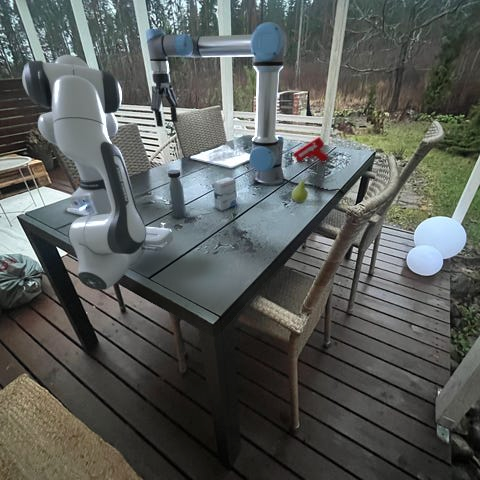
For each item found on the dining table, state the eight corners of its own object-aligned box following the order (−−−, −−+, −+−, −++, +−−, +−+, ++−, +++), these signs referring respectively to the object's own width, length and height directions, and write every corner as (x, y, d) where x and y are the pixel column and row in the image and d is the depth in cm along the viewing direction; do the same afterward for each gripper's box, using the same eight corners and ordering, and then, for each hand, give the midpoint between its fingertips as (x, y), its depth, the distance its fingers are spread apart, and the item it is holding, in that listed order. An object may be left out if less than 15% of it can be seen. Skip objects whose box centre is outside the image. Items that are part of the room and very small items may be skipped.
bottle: (183, 218, 109) (177, 175, 99) (172, 217, 110) (165, 174, 100) (188, 213, 113) (182, 170, 103) (176, 212, 114) (170, 170, 104)
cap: (177, 178, 100) (177, 173, 99) (166, 177, 101) (165, 173, 100) (182, 174, 104) (181, 170, 103) (171, 173, 105) (170, 169, 104)
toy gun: (332, 156, 168) (319, 135, 164) (331, 158, 165) (319, 137, 161) (306, 172, 178) (294, 152, 174) (305, 174, 175) (293, 154, 171)
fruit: (288, 200, 123) (290, 174, 116) (302, 197, 125) (305, 172, 119) (296, 206, 118) (299, 179, 111) (310, 203, 120) (314, 177, 114)
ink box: (228, 201, 122) (228, 176, 116) (236, 204, 119) (236, 179, 113) (214, 207, 117) (212, 181, 111) (222, 211, 114) (220, 184, 108)
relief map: (232, 168, 162) (231, 159, 159) (190, 158, 179) (189, 150, 177) (257, 157, 180) (257, 149, 177) (217, 149, 198) (217, 142, 195)
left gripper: (159, 241, 74) (179, 217, 85) (93, 233, 78) (121, 212, 89) (163, 259, 77) (182, 235, 89) (100, 251, 81) (125, 229, 93)
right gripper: (167, 72, 132) (173, 119, 143) (136, 73, 112) (146, 128, 123) (181, 72, 130) (186, 120, 141) (151, 73, 110) (160, 129, 121)
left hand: (151, 223), depth 89 cm, fingers open, 8 cm apart
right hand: (167, 124), depth 132 cm, fingers open, 13 cm apart
